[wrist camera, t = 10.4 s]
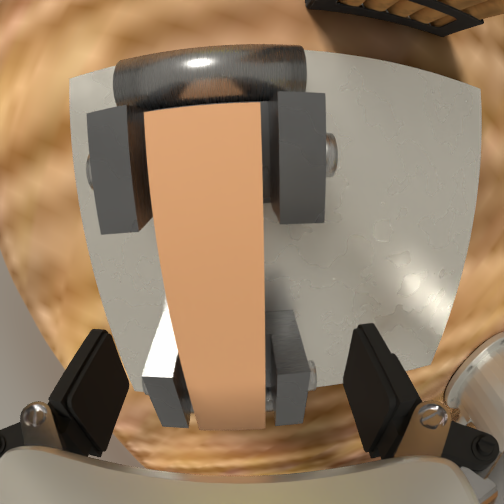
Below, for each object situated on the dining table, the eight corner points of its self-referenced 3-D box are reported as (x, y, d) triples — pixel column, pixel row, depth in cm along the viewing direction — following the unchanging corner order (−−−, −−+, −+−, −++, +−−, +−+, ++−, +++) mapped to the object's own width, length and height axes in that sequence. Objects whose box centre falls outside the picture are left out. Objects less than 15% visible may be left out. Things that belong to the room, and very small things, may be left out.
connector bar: (261, 382, 19) (265, 428, 16) (203, 384, 19) (199, 430, 16) (254, 110, 13) (260, 102, 9) (169, 117, 13) (144, 112, 9)
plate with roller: (426, 358, 25) (457, 406, 18) (137, 383, 24) (119, 444, 17) (472, 89, 15) (538, 89, 8) (77, 80, 14) (9, 67, 8)
